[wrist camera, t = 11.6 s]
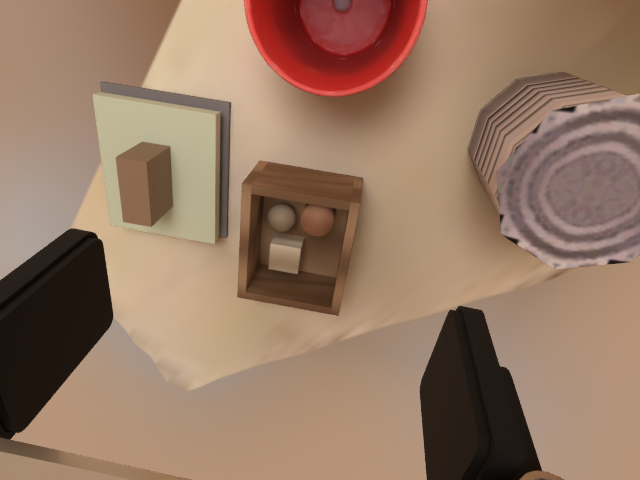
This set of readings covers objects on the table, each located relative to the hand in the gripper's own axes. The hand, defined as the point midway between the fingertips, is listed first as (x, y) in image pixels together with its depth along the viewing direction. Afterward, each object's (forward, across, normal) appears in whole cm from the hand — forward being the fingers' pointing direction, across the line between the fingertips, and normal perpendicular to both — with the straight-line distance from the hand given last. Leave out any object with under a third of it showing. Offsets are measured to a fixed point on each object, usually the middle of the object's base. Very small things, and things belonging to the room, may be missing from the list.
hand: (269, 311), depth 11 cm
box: (+29, +2, +14) cm, 32 cm away
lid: (+28, +16, +10) cm, 34 cm away
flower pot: (+30, +2, -6) cm, 31 cm away
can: (+30, -16, +1) cm, 34 cm away
